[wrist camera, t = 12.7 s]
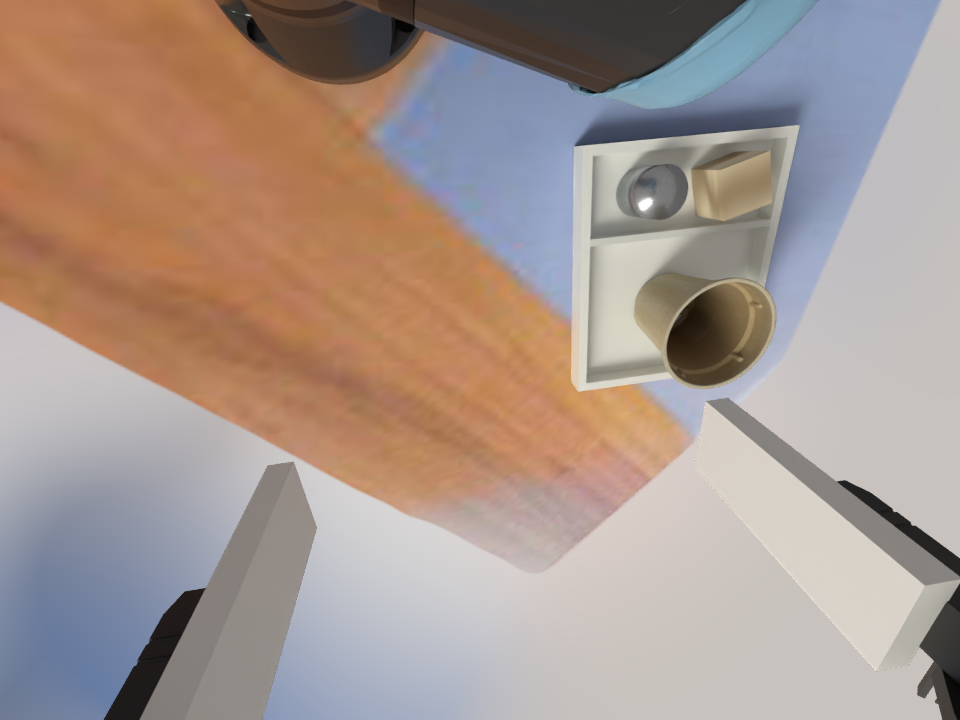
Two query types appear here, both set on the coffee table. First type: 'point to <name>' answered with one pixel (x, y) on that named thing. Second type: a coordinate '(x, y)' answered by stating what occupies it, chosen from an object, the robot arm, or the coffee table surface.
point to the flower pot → (706, 326)
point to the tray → (656, 245)
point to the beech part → (732, 185)
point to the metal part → (652, 191)
